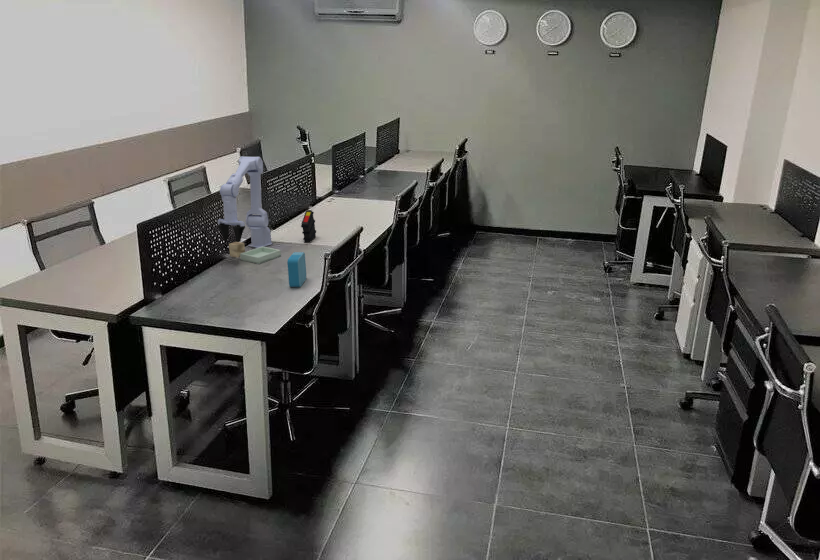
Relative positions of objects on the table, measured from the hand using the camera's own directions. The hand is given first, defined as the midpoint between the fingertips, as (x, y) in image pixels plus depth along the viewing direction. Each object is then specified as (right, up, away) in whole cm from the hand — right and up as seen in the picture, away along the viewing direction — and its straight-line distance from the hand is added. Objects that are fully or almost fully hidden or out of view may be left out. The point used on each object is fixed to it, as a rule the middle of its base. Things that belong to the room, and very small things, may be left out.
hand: (232, 240), depth 300 cm
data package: (+34, -19, -24) cm, 46 cm away
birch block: (-1, -6, +13) cm, 15 cm away
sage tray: (+11, -7, +9) cm, 16 cm away
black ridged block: (+30, +2, +36) cm, 46 cm away
